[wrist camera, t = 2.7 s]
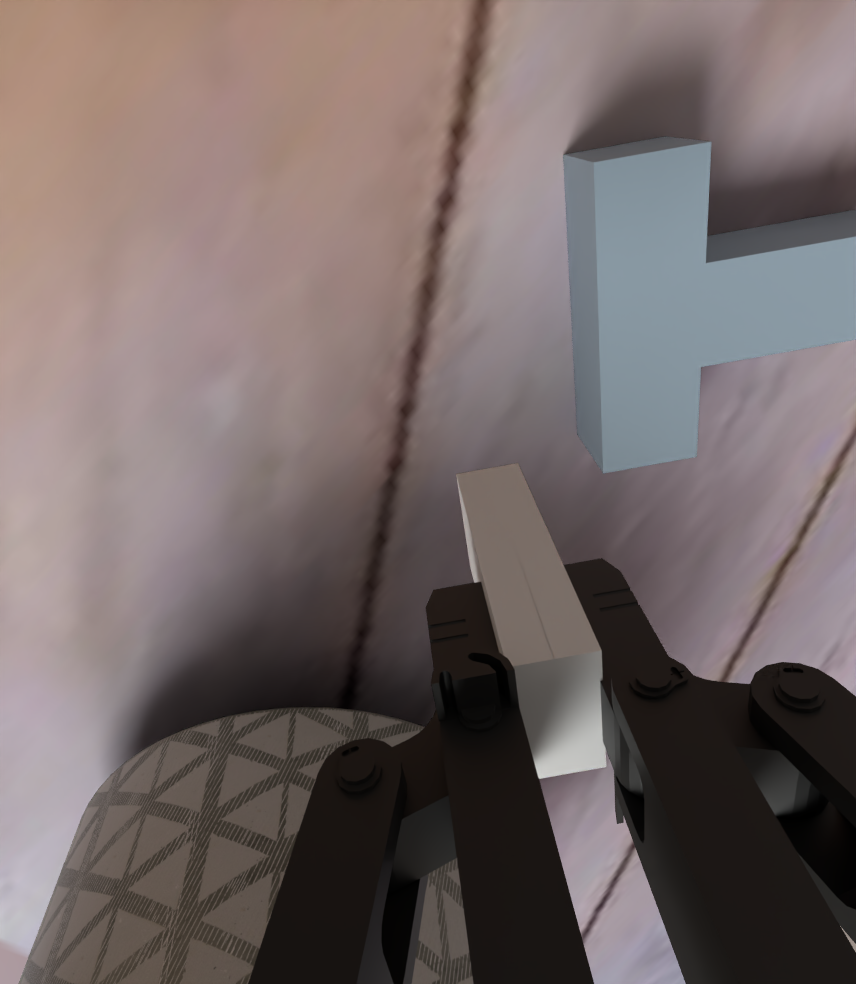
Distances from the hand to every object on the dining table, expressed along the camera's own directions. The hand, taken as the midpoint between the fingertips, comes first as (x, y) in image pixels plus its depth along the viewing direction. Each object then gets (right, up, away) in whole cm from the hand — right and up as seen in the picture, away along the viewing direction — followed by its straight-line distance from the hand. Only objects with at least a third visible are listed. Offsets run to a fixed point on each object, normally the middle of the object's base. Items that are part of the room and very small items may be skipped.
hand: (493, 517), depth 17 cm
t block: (+10, +10, +13) cm, 19 cm away
